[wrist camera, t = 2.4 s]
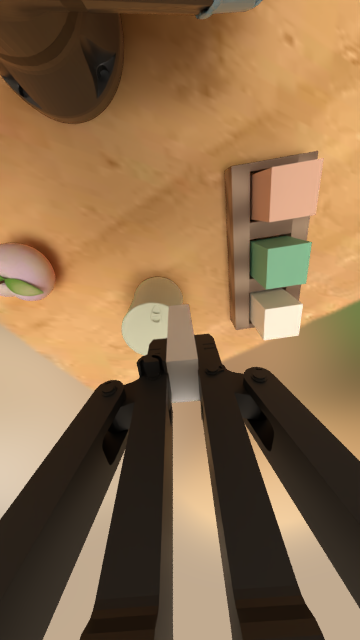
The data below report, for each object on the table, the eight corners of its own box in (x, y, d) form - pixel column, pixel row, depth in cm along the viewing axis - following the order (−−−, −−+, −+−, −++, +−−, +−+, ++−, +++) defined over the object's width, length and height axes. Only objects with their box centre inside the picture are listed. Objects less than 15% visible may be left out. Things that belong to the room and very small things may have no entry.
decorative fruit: (66, 245, 35) (31, 259, 26) (67, 291, 39) (36, 316, 30) (5, 232, 34) (-54, 241, 25) (12, 280, 38) (-37, 303, 29)
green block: (250, 241, 33) (267, 249, 26) (285, 235, 32) (311, 242, 26) (249, 274, 35) (266, 289, 29) (282, 269, 35) (305, 283, 29)
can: (186, 280, 38) (191, 308, 28) (179, 323, 43) (181, 362, 32) (135, 273, 38) (120, 299, 27) (133, 318, 42) (119, 356, 31)
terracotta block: (250, 175, 29) (271, 167, 22) (290, 168, 28) (323, 158, 22) (250, 219, 31) (269, 222, 25) (287, 212, 31) (315, 214, 25)
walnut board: (224, 170, 31) (231, 166, 27) (301, 157, 30) (318, 150, 27) (230, 319, 43) (235, 329, 39) (285, 311, 42) (296, 321, 39)
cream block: (249, 292, 37) (265, 309, 30) (281, 287, 36) (303, 304, 30) (249, 319, 39) (263, 340, 33) (278, 314, 39) (298, 335, 33)
